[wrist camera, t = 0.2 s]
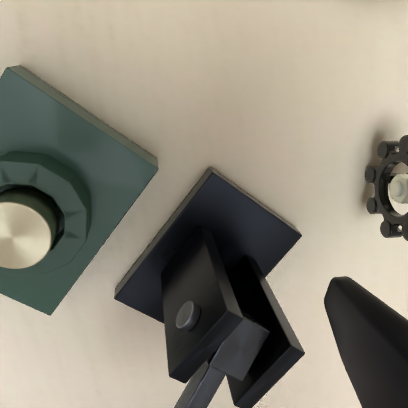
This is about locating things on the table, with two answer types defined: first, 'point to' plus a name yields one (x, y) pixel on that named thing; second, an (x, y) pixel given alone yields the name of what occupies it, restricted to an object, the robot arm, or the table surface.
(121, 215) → the button box
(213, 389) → the lever
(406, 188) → the valve
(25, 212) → the button
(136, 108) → the table surface
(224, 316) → the bracket
